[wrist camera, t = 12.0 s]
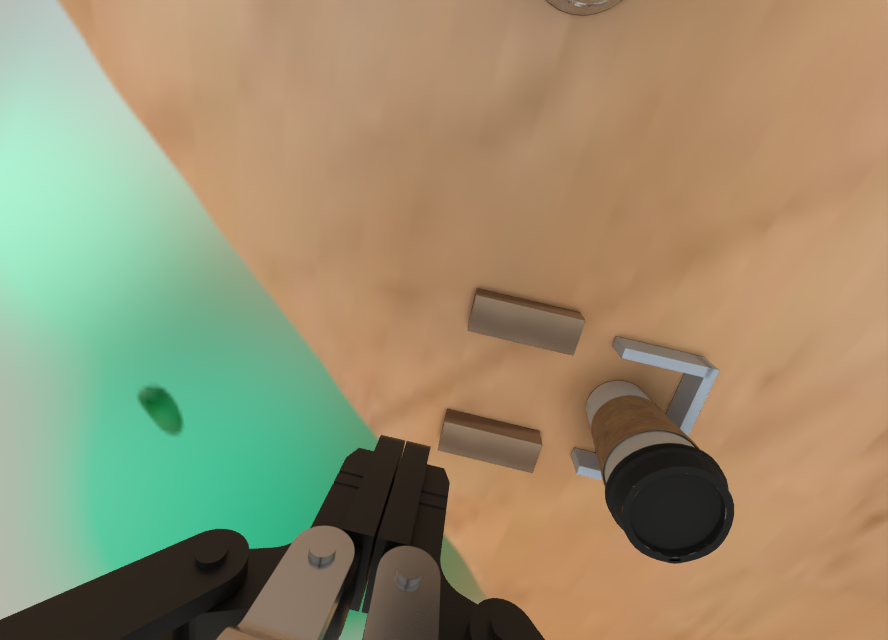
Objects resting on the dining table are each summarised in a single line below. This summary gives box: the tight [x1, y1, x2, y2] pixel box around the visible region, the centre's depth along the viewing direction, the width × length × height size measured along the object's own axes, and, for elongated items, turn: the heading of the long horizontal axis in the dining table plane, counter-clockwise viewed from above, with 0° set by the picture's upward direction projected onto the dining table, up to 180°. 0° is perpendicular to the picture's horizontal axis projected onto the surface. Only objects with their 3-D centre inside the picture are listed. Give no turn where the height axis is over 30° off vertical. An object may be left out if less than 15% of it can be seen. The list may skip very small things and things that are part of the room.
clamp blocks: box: [438, 289, 585, 473], centre depth 42 cm, size 17×10×2 cm, turn 168°
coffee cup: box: [586, 381, 734, 564], centre depth 36 cm, size 8×8×15 cm
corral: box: [571, 337, 720, 480], centre depth 41 cm, size 14×8×3 cm, turn 168°
